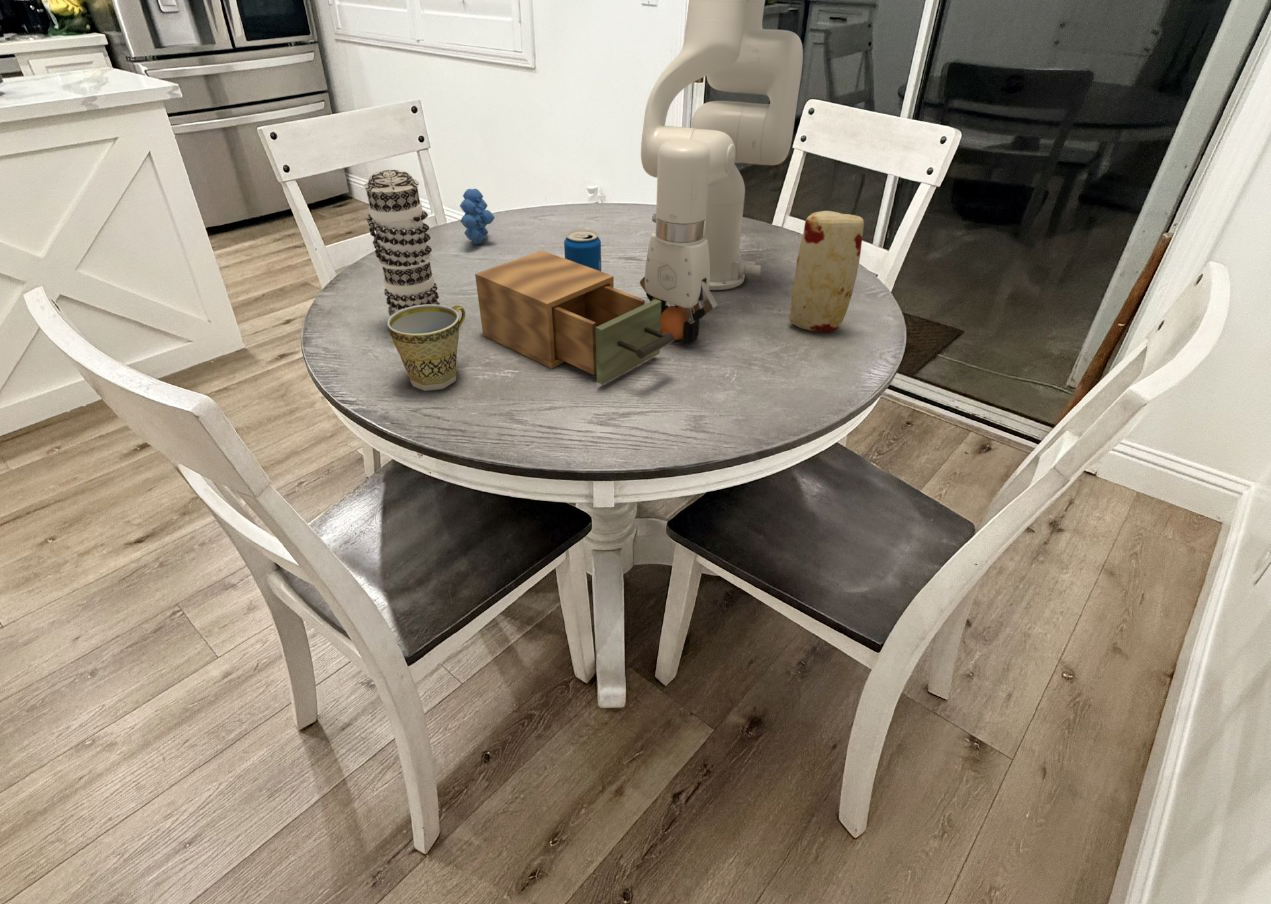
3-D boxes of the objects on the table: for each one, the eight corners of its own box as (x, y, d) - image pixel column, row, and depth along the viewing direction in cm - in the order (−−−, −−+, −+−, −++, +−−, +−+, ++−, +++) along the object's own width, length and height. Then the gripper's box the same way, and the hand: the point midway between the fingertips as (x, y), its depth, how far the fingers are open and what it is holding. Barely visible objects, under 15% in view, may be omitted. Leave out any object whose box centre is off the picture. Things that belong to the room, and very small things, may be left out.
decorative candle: (427, 309, 126) (401, 162, 111) (455, 326, 121) (432, 174, 106) (380, 325, 121) (346, 173, 106) (407, 343, 115) (376, 186, 101)
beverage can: (597, 307, 127) (595, 242, 120) (562, 304, 128) (559, 239, 121) (605, 293, 132) (604, 230, 125) (572, 290, 133) (569, 227, 126)
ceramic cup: (434, 404, 100) (422, 340, 94) (385, 384, 105) (371, 323, 99) (495, 366, 109) (487, 306, 103) (447, 350, 114) (438, 291, 108)
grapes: (489, 254, 148) (482, 196, 141) (458, 252, 149) (450, 194, 141) (505, 236, 157) (499, 180, 150) (475, 234, 158) (468, 179, 151)
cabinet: (614, 337, 118) (613, 276, 111) (551, 368, 109) (547, 303, 103) (545, 308, 127) (541, 250, 120) (482, 335, 118) (474, 273, 112)
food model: (786, 333, 119) (804, 215, 108) (788, 317, 125) (805, 202, 113) (845, 339, 118) (869, 220, 106) (844, 322, 123) (868, 207, 111)
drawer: (685, 364, 108) (688, 311, 103) (628, 397, 101) (629, 341, 95) (589, 324, 120) (587, 274, 114) (531, 351, 112) (526, 298, 106)
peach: (694, 332, 120) (696, 298, 116) (689, 347, 115) (691, 312, 112) (661, 329, 120) (662, 295, 117) (655, 343, 116) (657, 309, 112)
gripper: (622, 221, 109) (622, 328, 120) (711, 248, 100) (702, 361, 111) (653, 210, 114) (650, 314, 124) (741, 235, 105) (730, 344, 115)
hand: (675, 335), depth 118 cm, fingers closed on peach, 5 cm apart
